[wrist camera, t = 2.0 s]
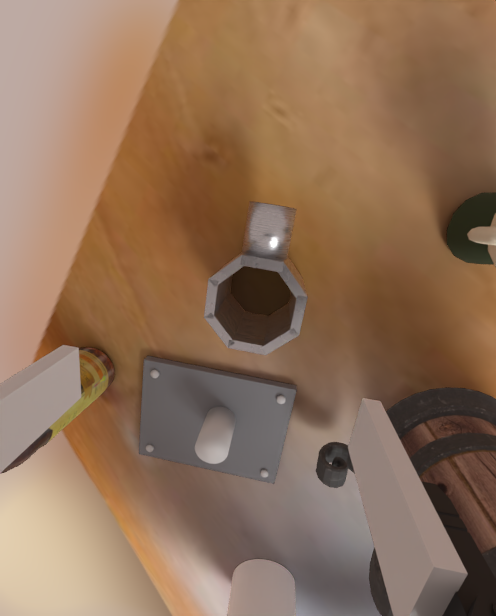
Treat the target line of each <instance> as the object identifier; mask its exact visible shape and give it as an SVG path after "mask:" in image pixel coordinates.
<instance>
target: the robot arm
mask: <svg viewBox="0 0 496 616" xmlns="http://www.w3.org/2000/svg"><path fill="white" fill-rule="evenodd" d="M80 398H81V381H80V363H79V348H78V347H73V346H67V345H62V346H60V347H59V348H57V349H56V350H54V351H52V352H51V353H49V354H47V355H46V356H44V357H43V358H41V359H39V360H38V361H36V362H35V363H33V364H31V365H30V366H28V367H26V368H25V369H23V370H22V371H20V372H18V373H17V374H15V375H14V376H12V377H10V378H9V379H7V380H5V381H4V382H2V383H1V384H0V473H1V472H2V471H3V470H4V469H5V468H6V467H7V466H8V465H10V464H11V463H12V462H13V461H14V460H15V459H16V458H17V457H18V456H19V455H20V454H21V453H22V452H23V451H25V450H26V449H27V448H28V447H29V446H30V445H31V444H32V443H33V442H34V441H35V440H36V439H37V438H38V437H40V436H41V435H42V434H43V433H44V432H45V431H46V430H47V429H48V428H49V427H50V426H51V425H52V424H53V423H54V422H56V421H57V420H58V419H59V418H60V417H61V416H62V415H63V414H64V413H65V412H66V411H67V410H68V409H69V408H71V407H72V406H73V405H74V404H75V403H76V402H77V401H78V400H79V399H80ZM348 450H349V454H350V458H351V461H352V465H353V469H354V472H355V476H356V480H357V483H358V487H359V491H360V495H361V498H362V502H363V506H364V509H365V513H366V517H367V520H368V524H369V528H370V532H371V535H372V539H373V543H374V546H375V550H376V554H377V557H378V561H379V565H380V568H381V572H382V576H383V580H384V583H385V587H386V591H387V594H388V598H389V602H390V605H391V609H392V613H393V616H496V578H495V576H494V575H493V573H492V571H491V569H490V568H489V566H488V564H487V562H486V561H485V559H484V557H483V556H482V554H481V552H480V550H479V549H478V547H477V545H476V543H475V542H474V540H473V538H472V536H471V535H470V533H468V532H467V528H466V526H465V524H464V522H463V521H462V519H460V518H459V514H458V512H457V510H456V509H455V507H454V505H453V503H452V502H451V500H450V499H449V497H448V496H447V495H446V494H445V493H444V492H443V491H442V490H441V489H440V488H439V487H438V486H437V485H436V484H433V483H428V482H423V481H421V480H420V478H419V476H418V474H417V472H416V470H415V469H414V467H413V465H412V463H411V461H410V459H409V457H408V455H407V453H406V451H405V449H404V447H403V445H402V443H401V441H400V439H399V437H398V435H397V433H396V431H395V429H394V427H393V425H392V423H391V421H390V419H389V417H388V415H387V413H386V411H385V409H384V407H383V405H382V403H381V401H378V400H372V399H366V398H362V402H361V405H360V408H359V412H358V415H357V418H356V422H355V425H354V428H353V432H352V435H351V438H350V441H349V445H348Z"/></svg>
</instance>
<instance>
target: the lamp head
mask: <svg viewBox="0 0 496 616" xmlns="http://www.w3.org/2000/svg"><path fill="white" fill-rule="evenodd" d="M296 210H297V209H294V208H289V207H284V206H278V205H272V204H265V203H259V202H252V201H249V208H248V215H247V222H246V228H245V235H244V242H243V248H242V253H240V254H239V255H238V256H236V257H235V258H234V259H232V260H231V261H229V262H228V263H227V264H225V265H224V266H223V267H222V268H221V269H220V270H218V271H217V272H216V273H215V274H214V275H213V276H212V277H210V278H209V280H208V288H207V297H206V305H205V314H204V318H205V319H206V320H207V322H208V323H209V324H210V326H211V327H212V328H213V330H214V331H215V332H216V333H217V335H218V336H219V337H220V339H221V340H222V341H223V342H224V344H225V345H226V346H227V348H231V349H236V350H241V351H247V352H252V353H257V354H262V355H267V354H269V353H271V352H272V351H274V350H275V349H277V348H279V347H280V346H282V345H284V344H285V343H287V342H289V341H290V340H292V339H294V338H295V337H297V336H299V333H300V329H301V324H302V320H303V316H304V311H305V307H306V302H307V298H308V296H307V293H306V289H305V285H304V282H303V278H302V276H301V274H300V273H299V271H298V270H297V269H296V267H295V266H294V264H293V263H292V261H291V260H290V258H289V257H288V251H289V246H290V240H291V235H292V230H293V225H294V220H295V215H296ZM243 266H247V267H253V268H259V269H264V270H270V271H276V272H278V273H279V274H280V276H281V277H282V279H283V280H284V282H285V283H286V284H287V286H288V287H289V289H290V290H291V295H290V299H289V303H287V304H286V305H284V306H283V307H281V308H280V309H278V310H277V311H275V312H273V313H272V314H270V315H269V316H268V315H262V314H257V313H252V312H246V311H244V310H243V308H242V307H241V306H240V304H239V303H238V302H237V300H236V299H235V298H234V296H233V295H232V293H231V292H230V290H231V283H232V276H233V274H234V273H235V272H236V271H238V270H239V269H241V268H242V267H243Z"/></svg>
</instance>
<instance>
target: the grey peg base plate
mask: <svg viewBox="0 0 496 616" xmlns="http://www.w3.org/2000/svg"><path fill="white" fill-rule="evenodd" d="M296 391H297V388H296V385H292V384H287V383H282V382H277V381H272V380H267V379H262V378H257V377H252V376H247V375H242V374H237V373H232V372H227V371H222V370H217V369H212V368H207V367H202V366H197V365H192V364H187V363H182V362H177V361H172V360H167V359H161V358H156V357H151V356H147V357H146V358H145V359H144V368H143V386H142V405H141V424H140V443H139V454H141V455H146V456H151V457H155V458H160V459H164V460H169V461H173V462H178V463H182V464H187V465H191V466H196V467H200V468H205V469H209V470H214V471H218V472H223V473H227V474H232V475H236V476H241V477H245V478H250V479H255V480H259V481H264V482H268V483H273V484H274V483H275V479H276V474H277V470H278V466H279V462H280V458H281V454H282V449H283V445H284V441H285V437H286V433H287V429H288V424H289V420H290V416H291V412H292V408H293V403H294V399H295V395H296Z"/></svg>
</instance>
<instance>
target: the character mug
mask: <svg viewBox="0 0 496 616" xmlns="http://www.w3.org/2000/svg"><path fill="white" fill-rule="evenodd" d="M447 245H448V247H449V248H450V250H451V251H452V253H453V255H454V256H456V257H457V258H459V259H461V260H463V261H465V262H467V263H476V264H494V265H495V267H496V193H481V194H478V195H476V196H474V197H472V198H470V199H468V200H466V201H465V202H464V203H463V204H462V205H461V206H460V207H459V208H458V209H457V210H456V212H455V213H454V214H453V216H452V219H451V221H450V224H449V226H448V229H447Z"/></svg>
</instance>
